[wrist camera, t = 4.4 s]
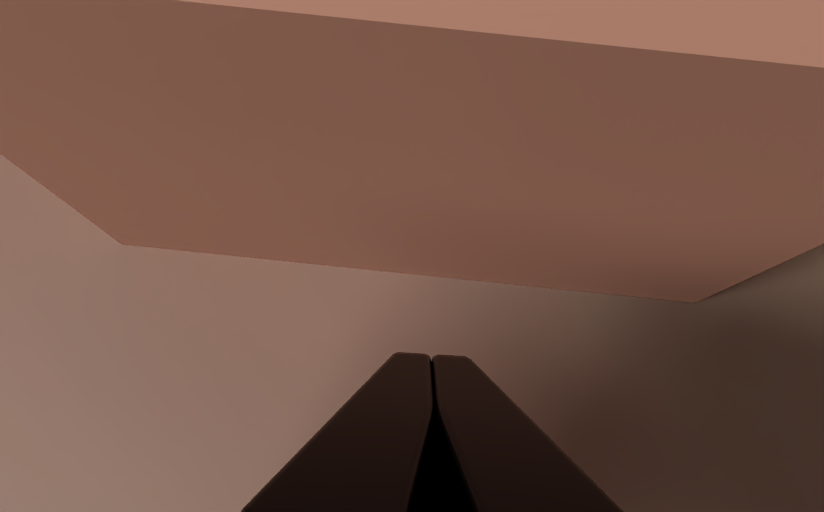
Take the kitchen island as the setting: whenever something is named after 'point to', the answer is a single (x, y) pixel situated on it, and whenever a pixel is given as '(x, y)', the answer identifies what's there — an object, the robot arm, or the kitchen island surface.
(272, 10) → the terracotta block
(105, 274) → the kitchen island surface
